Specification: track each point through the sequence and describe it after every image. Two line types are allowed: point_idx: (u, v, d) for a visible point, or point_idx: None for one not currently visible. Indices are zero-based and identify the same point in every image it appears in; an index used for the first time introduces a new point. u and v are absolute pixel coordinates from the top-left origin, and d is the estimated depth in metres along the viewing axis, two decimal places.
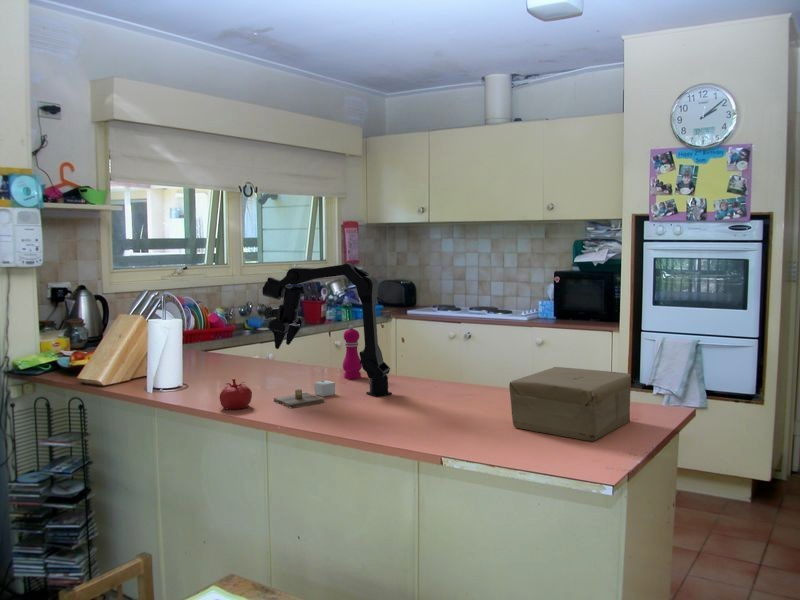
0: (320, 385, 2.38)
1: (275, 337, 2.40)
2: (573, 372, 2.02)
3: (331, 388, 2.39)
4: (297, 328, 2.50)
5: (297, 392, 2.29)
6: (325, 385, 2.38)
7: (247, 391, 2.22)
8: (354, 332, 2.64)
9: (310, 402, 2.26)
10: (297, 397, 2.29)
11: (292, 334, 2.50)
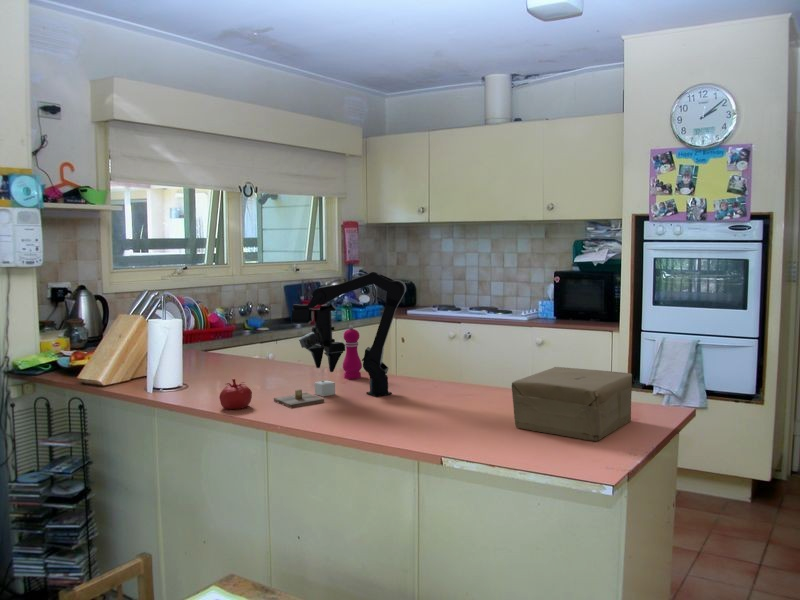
0: (320, 385, 2.38)
1: (331, 360, 2.34)
2: (574, 372, 2.02)
3: (331, 388, 2.39)
4: (322, 348, 2.45)
5: (297, 392, 2.29)
6: (325, 385, 2.38)
7: (247, 391, 2.22)
8: (354, 332, 2.64)
9: (310, 402, 2.26)
10: (297, 397, 2.29)
11: (320, 356, 2.44)
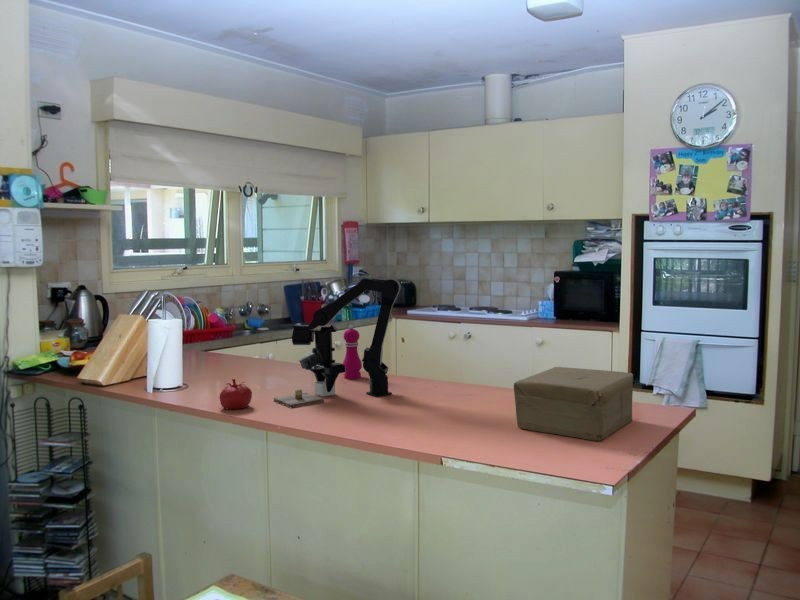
0: (320, 385, 2.38)
1: (328, 381, 2.36)
2: (575, 372, 2.02)
3: None
4: None
5: (297, 392, 2.29)
6: (325, 385, 2.38)
7: (247, 391, 2.22)
8: (354, 332, 2.64)
9: (310, 402, 2.26)
10: (297, 397, 2.29)
11: (323, 377, 2.43)
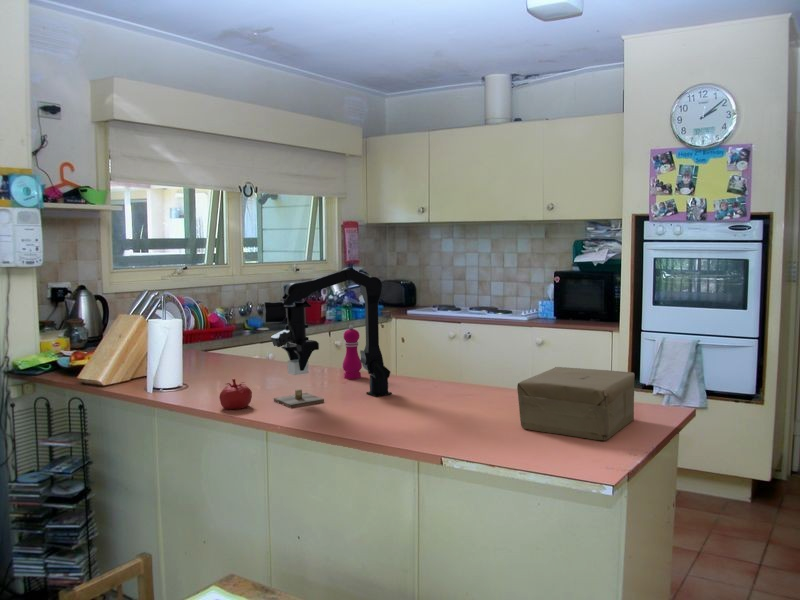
0: (292, 363, 2.27)
1: (301, 359, 2.25)
2: (577, 372, 2.02)
3: None
4: None
5: (297, 392, 2.29)
6: (298, 363, 2.27)
7: (247, 391, 2.22)
8: (354, 332, 2.64)
9: (310, 402, 2.26)
10: (297, 397, 2.29)
11: (296, 355, 2.32)
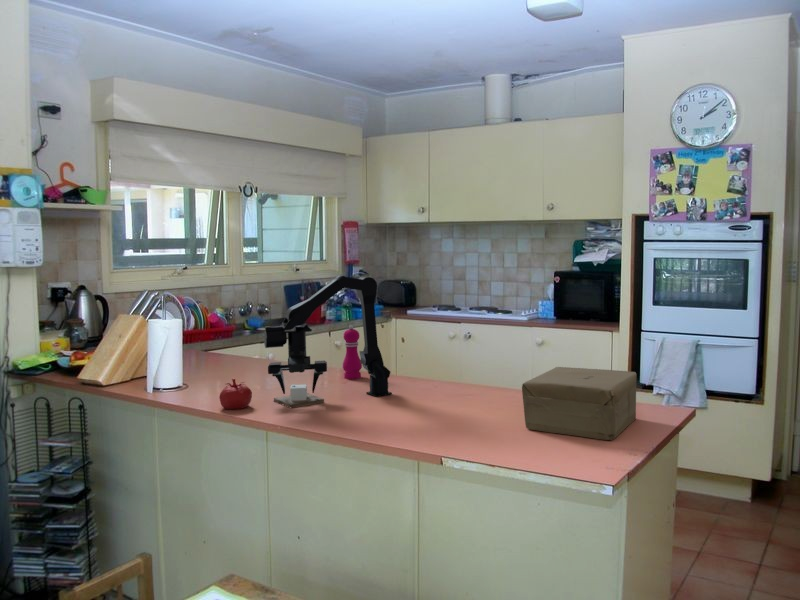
0: (302, 389, 2.28)
1: None
2: (580, 372, 2.02)
3: (306, 390, 2.31)
4: (282, 373, 2.31)
5: None
6: (306, 388, 2.29)
7: (247, 391, 2.22)
8: (354, 332, 2.64)
9: (310, 402, 2.26)
10: None
11: (283, 381, 2.30)
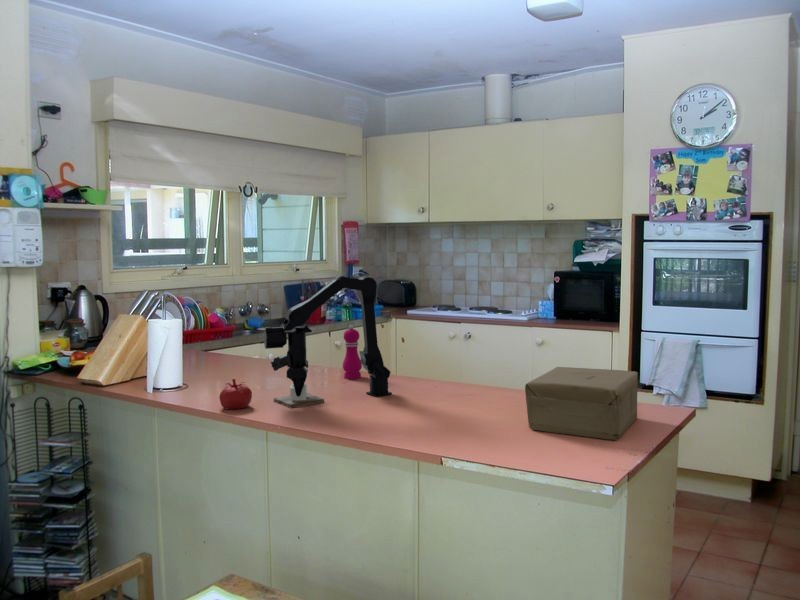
0: (302, 389, 2.28)
1: (295, 384, 2.26)
2: (581, 372, 2.02)
3: (306, 390, 2.31)
4: None
5: None
6: (306, 388, 2.29)
7: (247, 391, 2.22)
8: (354, 332, 2.64)
9: (310, 402, 2.26)
10: None
11: None
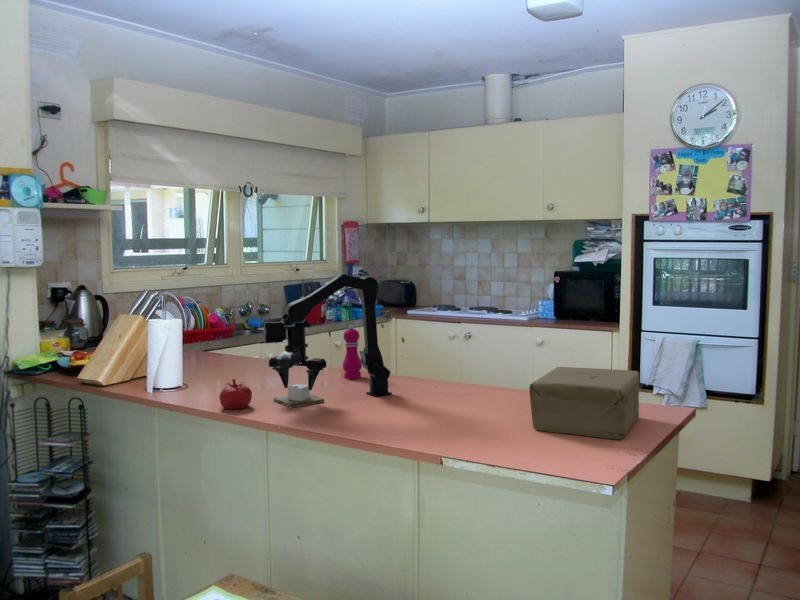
0: (307, 387, 2.30)
1: (312, 378, 2.26)
2: (583, 371, 2.02)
3: None
4: None
5: None
6: None
7: (247, 391, 2.22)
8: (354, 332, 2.64)
9: (310, 402, 2.26)
10: None
11: (287, 375, 2.32)
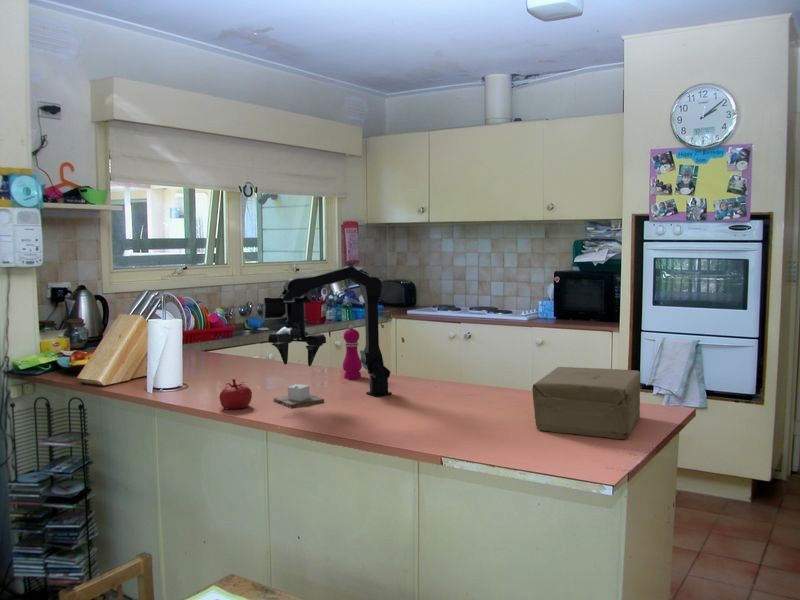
0: (307, 387, 2.30)
1: (311, 354, 2.26)
2: (584, 371, 2.02)
3: None
4: (287, 343, 2.33)
5: None
6: None
7: (247, 391, 2.22)
8: (354, 332, 2.64)
9: (310, 402, 2.26)
10: None
11: (286, 351, 2.32)
